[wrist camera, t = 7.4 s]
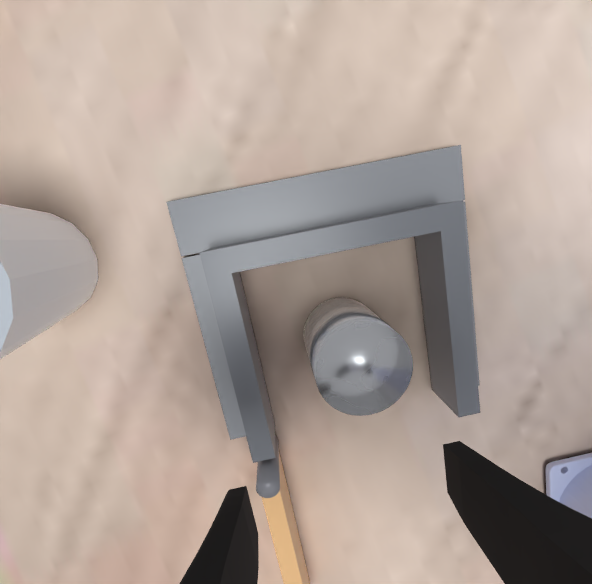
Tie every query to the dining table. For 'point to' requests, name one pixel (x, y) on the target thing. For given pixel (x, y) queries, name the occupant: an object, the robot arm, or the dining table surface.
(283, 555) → the gate
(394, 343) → the steel cylinder
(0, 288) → the white cylinder
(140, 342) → the dining table surface
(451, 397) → the housing
